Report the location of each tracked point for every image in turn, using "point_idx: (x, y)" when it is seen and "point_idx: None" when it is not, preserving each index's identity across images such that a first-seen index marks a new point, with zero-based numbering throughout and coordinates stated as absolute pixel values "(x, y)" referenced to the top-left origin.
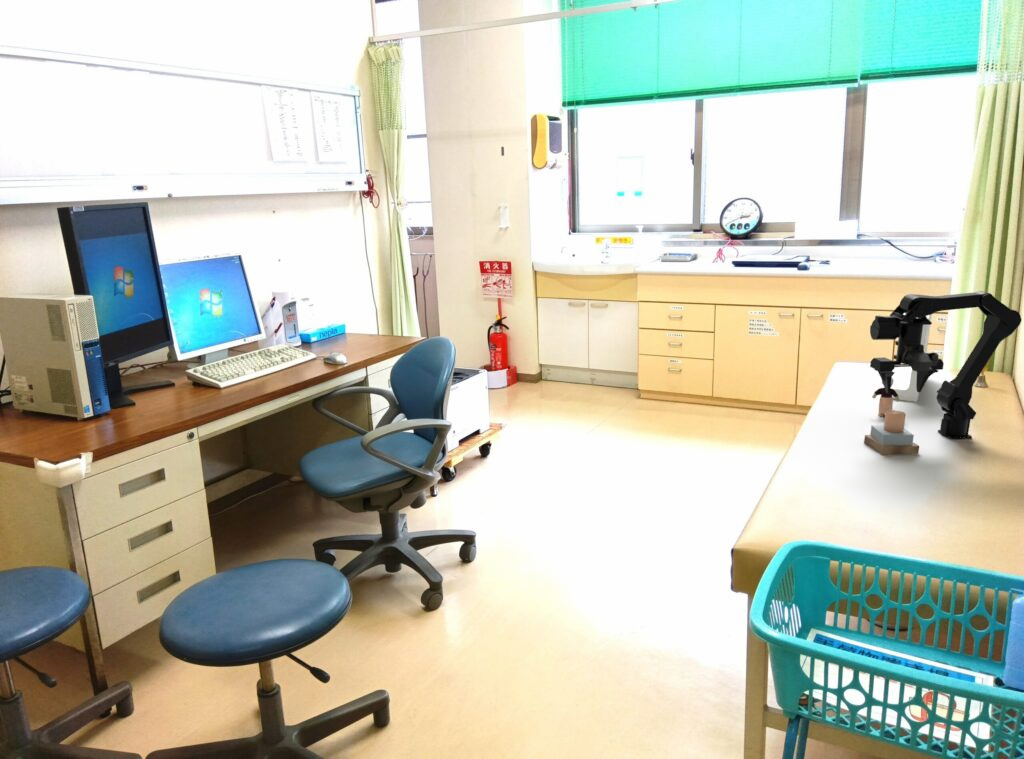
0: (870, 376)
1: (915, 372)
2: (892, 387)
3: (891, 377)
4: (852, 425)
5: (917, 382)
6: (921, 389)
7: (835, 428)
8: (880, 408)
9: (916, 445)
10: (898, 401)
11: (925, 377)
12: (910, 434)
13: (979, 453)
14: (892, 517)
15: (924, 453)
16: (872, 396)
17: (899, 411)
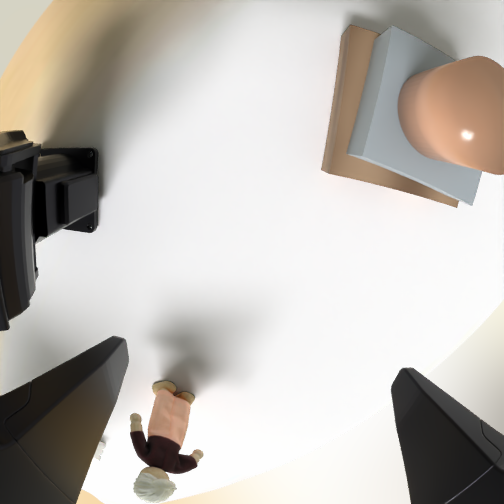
0: (102, 487)
1: None
2: (95, 462)
3: (496, 465)
4: (340, 356)
5: (98, 426)
6: (96, 345)
7: (407, 341)
8: (186, 415)
9: (359, 32)
10: (136, 413)
11: (12, 423)
12: (401, 37)
13: (116, 10)
14: None
15: (312, 33)
16: (202, 456)
17: (466, 121)
